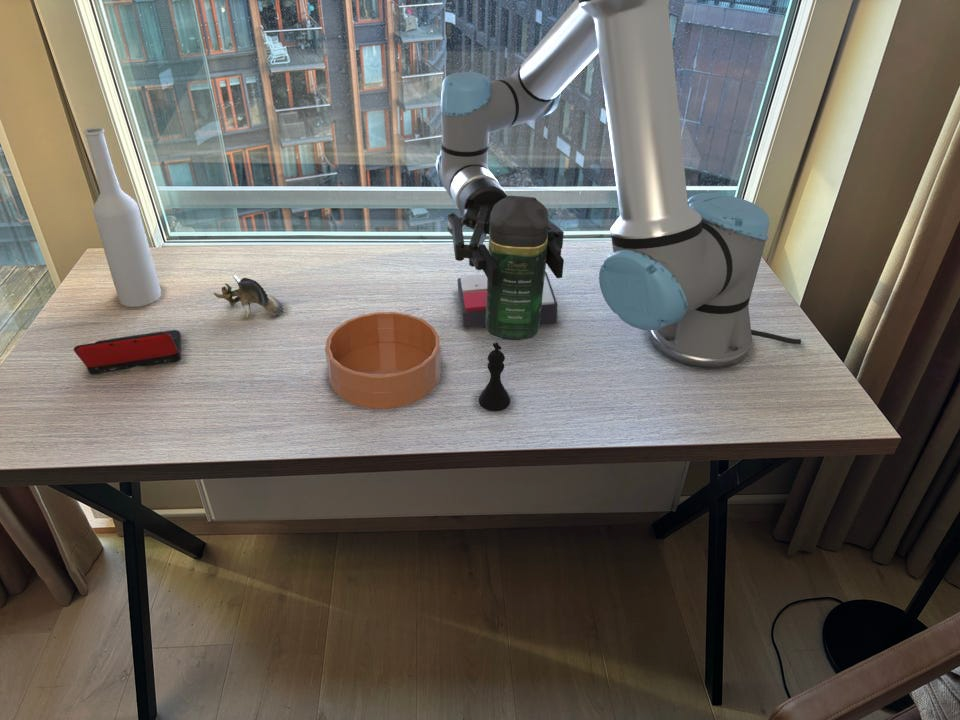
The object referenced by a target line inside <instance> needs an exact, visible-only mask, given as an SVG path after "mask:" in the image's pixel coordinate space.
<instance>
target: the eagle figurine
mask: <svg viewBox="0 0 960 720" xmlns="http://www.w3.org/2000/svg"><path fill="white" fill-rule="evenodd" d="M232 277H233V278H234V280H235V282H236V284H237V285H238V288H237V289H234V290H232V286H230V285H229V284H228V283H226V282H225V283H224V285H225V286H222V287H221V293H222V294H221V293H217V292H213V295H214V296H215V298H218V299H224V300H226V301H227V302H228V303H229V304H230V307H235V305H236V303H239V302H240V304H241V306H242V308H243V310H244V311H243V312H244V313H245V318H246V319H248V318H249V316H250V314H251V304H258V305H260V306H261V307H263V308H264V309H265V310H266V311H267V312H268V313H270V314H271V316H273V317H274V316H279V315H283V313H285V309H284V305H282V303H281V301H279V300H278V299H277V298H276V297H274V296H272V295H270V294H268V293H267V292H266V290H264V287H262V285H261V284H260V283H259V282H258V281H256V280H255V279H252V278H249V277H242V278H239V277H238V276H237V275H236V274H232ZM233 297H235V298H233Z"/></svg>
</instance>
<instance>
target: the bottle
mask: <svg viewBox="0 0 960 720" xmlns="http://www.w3.org/2000/svg"><path fill="white" fill-rule="evenodd" d="M83 134H84V135H85V138H86V141H87V142H86V143H87V145H88V149H89V152H90V156H91V159H92V163H93V167H94V170H95V174H96V180H97V184H98V189H99V195H98V198H97V199H96V201H95V203H94V205H93V209H92V214H93V216H94V221H95V223H96V227H97V231H98V234H99V237H100V241H101V245H102V247H103V251H104V255H105V258H106V261H107V265H108V268H109V272H110V276H111V278H112V281H113V285H114V288H115V292H116V295H117V298H118V301H119V303H120V304H121V305H123V306H124V307H125V306H126V307H131V308H136V307H137V308H138V307H139V308H140V307H143V306H148V305H150V304H153V303H155V302H156V301H158V300H159V299H160V298H161V296H162V290H161V285H160V282H159V278H158V274H157V270H156V266H155V262H154V259H153V256H152V251H151V247H150V245H149V241H148V237H147V234H146V231H145V226H144V223H143V219H142V216H141V212H140V208H139V205H138V203H137V201H136V200H135V199H134V198H133V197H131V196H130V195H129V194H127V193H126V192H124V191H123V190H122V188H121V186H120V182H119V180H118V177H117V174H116V172H115V169H114V165H113V162H112V158H111V155H110V152H109V151H110V150H109V148H108V144H107V140H106V137H105V128H103V127H102V126H101V127H100V126H91V127H88V128H86V129H83Z"/></svg>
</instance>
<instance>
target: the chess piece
mask: <svg viewBox="0 0 960 720" xmlns="http://www.w3.org/2000/svg"><path fill="white" fill-rule="evenodd" d="M491 345H492V347H493V348H494V349H493V350H491V351H490V352H489V353H488V354H487V361H488V362H487V365H486V367H487V370H488V371H489V374H490V378H489V381H488V382H487V384H486V386H485V388H483V390H482V391H481V393H480V395H479V396H478V404H479V405H480V407H481V408H482V409H484V410H486V411H489V412H502V411H504V410H506V409H508V408H509V407H510V405H511V396H510V395H509V393H508V391H507V389H506V388H505V386H504V385H503V383H502V379H501V376H502V373H503V371H504V369H505V367H506V366H505V364H504V362H505V360H506V356H505V354H504V352H503V351H501V350H502V346H501V345H500V344H499V342H493V343H491Z"/></svg>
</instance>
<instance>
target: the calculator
mask: <svg viewBox="0 0 960 720" xmlns="http://www.w3.org/2000/svg"><path fill="white" fill-rule="evenodd" d="M457 293H458V299H459V300H458V301H459V308H460V314H461V320H462V327H463V328H464V329H474V328H486V300H487V276H486V275H485V273H481V274H470V275H461V276H460V277H458V278H457ZM557 323H558V302H557V299H556V296H555V293H554V290H553V286H552V284H551V281H550V279H549V275H548V273H547V271H546V270H545V277H544V286H543V296H542V307H541V316H540V325H539V326H546V325H555V324H557Z"/></svg>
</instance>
